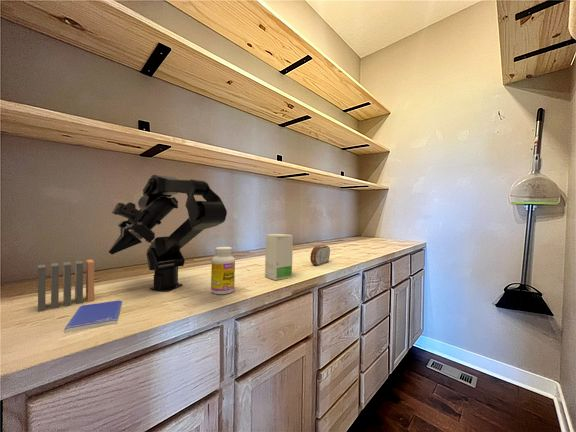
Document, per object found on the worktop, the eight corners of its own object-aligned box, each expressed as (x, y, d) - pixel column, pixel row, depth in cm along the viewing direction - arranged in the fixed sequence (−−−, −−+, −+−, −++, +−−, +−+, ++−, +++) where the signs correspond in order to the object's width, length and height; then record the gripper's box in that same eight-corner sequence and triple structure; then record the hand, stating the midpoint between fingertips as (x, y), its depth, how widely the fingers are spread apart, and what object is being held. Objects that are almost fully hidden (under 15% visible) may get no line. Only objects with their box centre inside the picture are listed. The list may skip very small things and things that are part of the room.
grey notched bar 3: (69, 300, 62) (69, 261, 62) (71, 305, 59) (71, 264, 59) (63, 301, 61) (63, 262, 61) (64, 306, 58) (64, 265, 58)
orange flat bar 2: (80, 298, 63) (81, 260, 63) (82, 302, 60) (83, 263, 60) (74, 299, 62) (75, 261, 62) (76, 304, 59) (76, 263, 59)
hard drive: (116, 318, 50) (122, 299, 60) (64, 327, 45) (79, 305, 56) (116, 326, 50) (122, 305, 60) (63, 335, 45) (79, 312, 56)
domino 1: (45, 304, 59) (45, 264, 58) (45, 310, 56) (45, 267, 55) (38, 306, 58) (38, 264, 58) (37, 311, 55) (38, 267, 55)
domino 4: (91, 296, 65) (91, 259, 65) (94, 300, 62) (94, 262, 62) (85, 297, 64) (86, 260, 64) (88, 301, 61) (88, 262, 61)
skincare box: (275, 281, 82) (275, 235, 82) (263, 277, 87) (264, 234, 87) (293, 277, 88) (293, 234, 87) (281, 273, 92) (282, 233, 92)
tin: (325, 261, 118) (325, 243, 118) (331, 261, 117) (331, 244, 116) (309, 266, 106) (309, 247, 106) (315, 267, 104) (316, 247, 104)
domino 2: (57, 302, 60) (57, 262, 60) (58, 307, 57) (58, 265, 57) (51, 303, 59) (51, 263, 59) (51, 309, 56) (51, 266, 56)
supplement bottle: (222, 296, 66) (222, 250, 66) (206, 292, 69) (206, 248, 69) (239, 290, 72) (239, 247, 72) (223, 286, 75) (223, 245, 75)
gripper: (125, 195, 76) (79, 231, 68) (141, 191, 63) (86, 236, 55) (152, 219, 82) (113, 255, 74) (173, 221, 69) (127, 265, 61)
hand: (110, 253), depth 66 cm, fingers closed
